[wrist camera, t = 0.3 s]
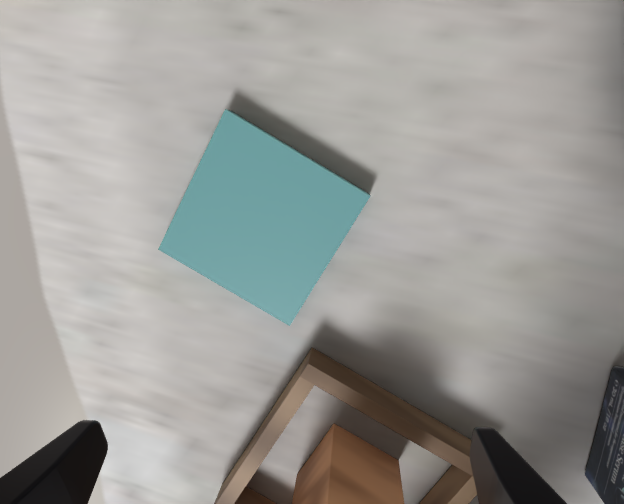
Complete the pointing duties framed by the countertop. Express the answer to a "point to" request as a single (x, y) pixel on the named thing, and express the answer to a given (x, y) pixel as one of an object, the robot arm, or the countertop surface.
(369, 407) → the pocket frame
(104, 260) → the countertop surface
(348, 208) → the plate
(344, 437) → the block
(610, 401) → the box
